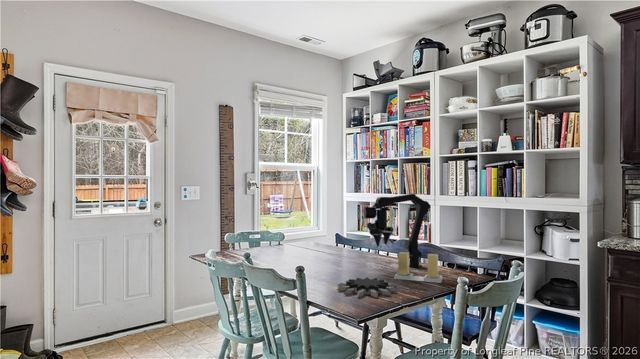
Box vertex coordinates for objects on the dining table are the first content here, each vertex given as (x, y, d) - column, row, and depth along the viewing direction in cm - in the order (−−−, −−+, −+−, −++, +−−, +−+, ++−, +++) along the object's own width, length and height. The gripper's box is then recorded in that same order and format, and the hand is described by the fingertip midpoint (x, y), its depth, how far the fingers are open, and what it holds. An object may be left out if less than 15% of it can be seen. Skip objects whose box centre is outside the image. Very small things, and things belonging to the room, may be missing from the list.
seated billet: (429, 278, 199) (428, 253, 199) (438, 279, 197) (437, 254, 197) (427, 280, 195) (427, 255, 195) (437, 281, 193) (436, 255, 193)
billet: (400, 275, 204) (400, 251, 205) (409, 276, 203) (408, 252, 203) (398, 277, 200) (398, 253, 200) (407, 278, 198) (407, 253, 199)
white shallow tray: (397, 276, 207) (397, 271, 207) (442, 280, 198) (442, 275, 198) (393, 280, 199) (393, 275, 199) (440, 284, 190) (440, 279, 190)
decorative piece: (366, 271, 202) (413, 282, 179) (366, 279, 202) (413, 291, 179) (321, 281, 183) (368, 295, 160) (321, 289, 183) (368, 304, 160)
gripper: (377, 216, 241) (377, 241, 241) (361, 218, 226) (361, 245, 226) (393, 217, 234) (393, 243, 234) (378, 219, 219) (378, 247, 219)
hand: (381, 245), depth 228 cm, fingers open, 9 cm apart
